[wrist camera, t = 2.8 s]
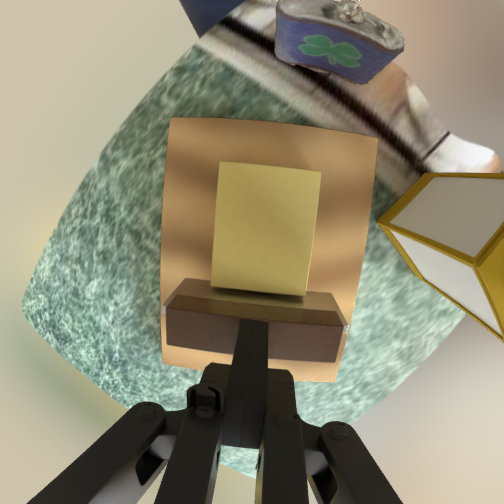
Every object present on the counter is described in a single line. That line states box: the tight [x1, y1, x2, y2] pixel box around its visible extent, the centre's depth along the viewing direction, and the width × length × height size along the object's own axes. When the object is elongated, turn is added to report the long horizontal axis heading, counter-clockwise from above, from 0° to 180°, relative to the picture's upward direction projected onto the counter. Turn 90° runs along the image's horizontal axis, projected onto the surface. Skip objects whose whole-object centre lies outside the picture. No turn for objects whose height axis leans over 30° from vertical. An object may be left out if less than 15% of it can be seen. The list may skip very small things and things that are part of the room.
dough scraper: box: [162, 278, 349, 363], centre depth 20 cm, size 2×12×8 cm, turn 84°
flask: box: [275, 0, 404, 85], centre depth 18 cm, size 9×3×11 cm, turn 75°
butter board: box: [160, 117, 378, 382], centre depth 27 cm, size 24×18×2 cm
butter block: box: [210, 161, 321, 296], centre depth 23 cm, size 9×7×4 cm
